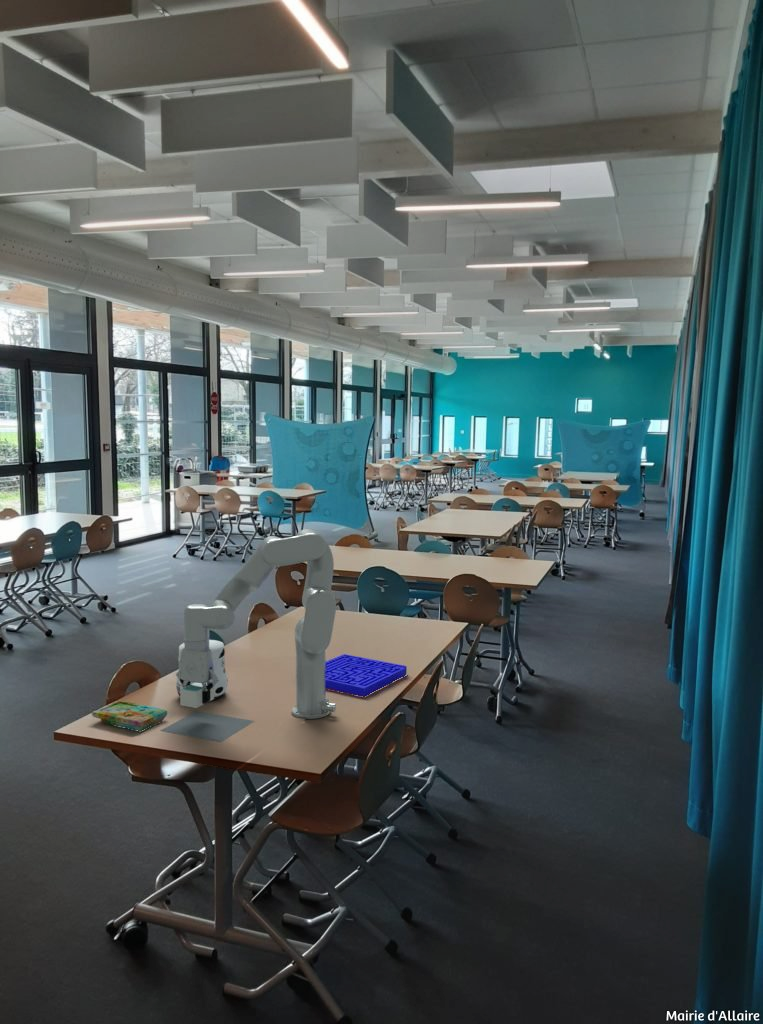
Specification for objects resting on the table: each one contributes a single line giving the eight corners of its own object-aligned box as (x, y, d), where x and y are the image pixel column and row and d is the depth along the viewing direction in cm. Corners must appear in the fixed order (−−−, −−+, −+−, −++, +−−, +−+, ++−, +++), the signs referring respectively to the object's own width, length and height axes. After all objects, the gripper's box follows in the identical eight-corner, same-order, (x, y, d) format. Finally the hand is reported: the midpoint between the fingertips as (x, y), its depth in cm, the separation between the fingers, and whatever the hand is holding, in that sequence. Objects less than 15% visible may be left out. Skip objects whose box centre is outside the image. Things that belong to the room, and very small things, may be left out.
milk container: (237, 691, 265) (236, 641, 263) (210, 707, 249) (209, 654, 247) (195, 685, 271) (194, 637, 269) (166, 701, 254) (164, 649, 253)
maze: (364, 699, 258) (364, 688, 258) (296, 684, 275) (296, 673, 274) (408, 676, 283) (408, 666, 283) (344, 663, 300) (344, 654, 299)
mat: (254, 722, 235) (254, 721, 235) (220, 744, 219) (220, 742, 219) (196, 712, 244) (196, 711, 244) (160, 732, 227) (160, 730, 227)
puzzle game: (139, 720, 225) (91, 709, 234) (140, 735, 226) (92, 723, 235) (167, 707, 236) (120, 697, 245) (167, 722, 236) (120, 711, 245)
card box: (196, 708, 229) (196, 691, 228) (180, 705, 231) (180, 688, 231) (213, 699, 237) (213, 683, 237) (198, 696, 239) (198, 680, 239)
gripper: (166, 644, 232) (167, 700, 234) (212, 650, 226) (213, 708, 227) (181, 638, 239) (182, 693, 241) (227, 644, 233) (227, 701, 234)
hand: (197, 700), depth 234 cm, fingers closed on card box, 6 cm apart
